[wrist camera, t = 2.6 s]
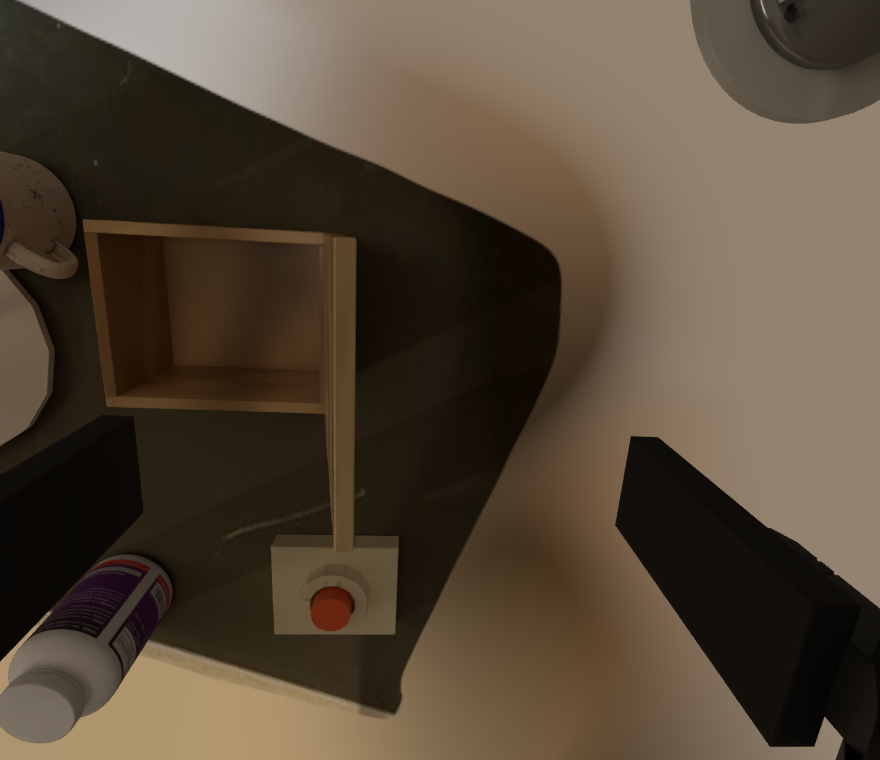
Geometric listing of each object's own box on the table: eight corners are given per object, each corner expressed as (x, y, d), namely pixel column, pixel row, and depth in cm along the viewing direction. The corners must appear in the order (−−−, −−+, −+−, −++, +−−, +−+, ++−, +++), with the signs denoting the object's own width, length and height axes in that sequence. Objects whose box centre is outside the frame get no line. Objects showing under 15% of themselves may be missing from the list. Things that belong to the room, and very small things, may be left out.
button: (352, 586, 48) (350, 599, 47) (352, 618, 49) (349, 631, 48) (313, 586, 48) (310, 598, 46) (314, 618, 49) (310, 631, 47)
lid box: (169, 371, 45) (106, 407, 36) (155, 222, 42) (81, 219, 32) (347, 377, 46) (331, 414, 37) (348, 233, 43) (330, 233, 34)
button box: (398, 535, 51) (397, 560, 47) (395, 619, 54) (394, 648, 50) (276, 533, 50) (265, 558, 46) (279, 618, 53) (269, 648, 49)
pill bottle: (75, 583, 51) (-51, 715, 37) (128, 534, 49) (19, 650, 36) (141, 631, 52) (45, 774, 39) (194, 585, 51) (115, 714, 38)
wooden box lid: (334, 554, 21) (353, 552, 21) (333, 236, 18) (356, 237, 18) (324, 416, 36) (336, 416, 37) (323, 232, 33) (335, 233, 33)
